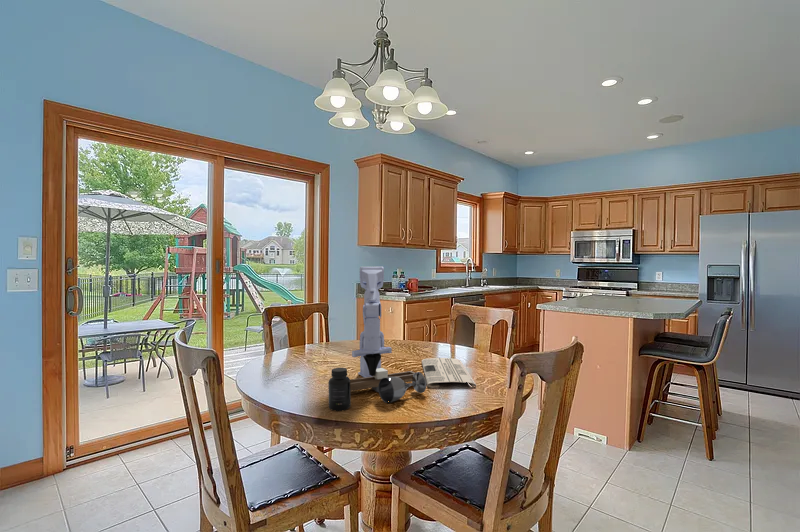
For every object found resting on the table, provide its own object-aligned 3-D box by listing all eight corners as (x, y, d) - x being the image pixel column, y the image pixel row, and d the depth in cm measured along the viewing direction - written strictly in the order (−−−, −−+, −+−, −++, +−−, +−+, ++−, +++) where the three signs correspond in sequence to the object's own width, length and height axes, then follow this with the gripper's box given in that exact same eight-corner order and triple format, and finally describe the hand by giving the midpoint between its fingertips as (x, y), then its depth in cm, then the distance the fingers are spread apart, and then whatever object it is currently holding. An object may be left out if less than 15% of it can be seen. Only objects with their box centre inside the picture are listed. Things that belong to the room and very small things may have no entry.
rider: (372, 379, 145) (372, 369, 145) (382, 378, 147) (382, 367, 147) (377, 382, 141) (377, 372, 141) (387, 381, 143) (387, 370, 143)
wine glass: (424, 398, 138) (391, 407, 128) (409, 387, 143) (376, 395, 134) (429, 377, 136) (395, 384, 126) (413, 367, 142) (380, 373, 132)
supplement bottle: (329, 404, 129) (329, 366, 129) (351, 403, 129) (350, 366, 129) (327, 412, 122) (327, 372, 122) (350, 411, 123) (350, 371, 122)
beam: (340, 392, 140) (340, 380, 140) (410, 381, 153) (410, 370, 153) (346, 397, 135) (346, 385, 135) (418, 385, 148) (418, 374, 148)
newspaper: (421, 364, 182) (421, 357, 182) (464, 364, 182) (464, 357, 182) (427, 389, 146) (427, 381, 146) (480, 389, 146) (480, 381, 146)
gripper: (357, 340, 136) (357, 380, 136) (395, 336, 142) (395, 375, 142) (349, 337, 142) (349, 375, 142) (386, 333, 149) (387, 370, 149)
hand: (372, 375), depth 143 cm, fingers closed
